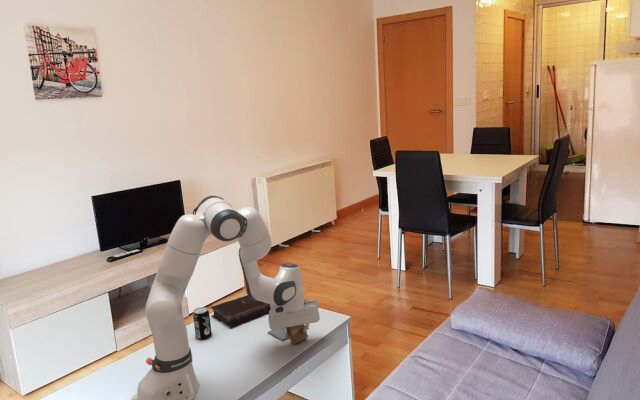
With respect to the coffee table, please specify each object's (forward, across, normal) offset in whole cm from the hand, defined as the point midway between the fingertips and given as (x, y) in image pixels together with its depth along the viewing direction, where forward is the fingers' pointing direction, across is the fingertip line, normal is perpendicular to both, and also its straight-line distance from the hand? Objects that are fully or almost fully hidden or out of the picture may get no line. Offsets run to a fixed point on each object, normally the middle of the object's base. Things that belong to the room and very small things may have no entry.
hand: (295, 334), depth 203 cm
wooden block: (+3, -2, 0) cm, 3 cm away
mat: (+3, +1, -10) cm, 11 cm away
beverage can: (+3, +36, -19) cm, 40 cm away
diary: (+4, +17, -35) cm, 39 cm away
